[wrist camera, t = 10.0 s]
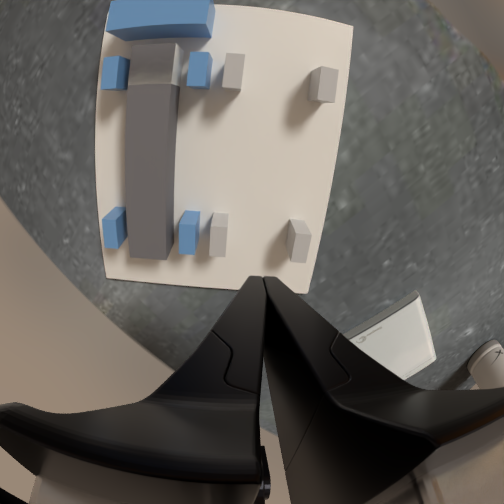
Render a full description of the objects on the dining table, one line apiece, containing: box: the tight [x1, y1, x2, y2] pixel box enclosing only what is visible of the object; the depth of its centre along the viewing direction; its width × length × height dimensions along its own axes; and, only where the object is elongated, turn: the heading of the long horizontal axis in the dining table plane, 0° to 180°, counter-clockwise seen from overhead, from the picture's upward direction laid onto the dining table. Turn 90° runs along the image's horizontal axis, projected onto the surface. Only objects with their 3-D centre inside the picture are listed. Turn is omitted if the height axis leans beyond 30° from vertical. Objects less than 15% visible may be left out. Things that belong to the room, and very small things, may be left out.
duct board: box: [95, 0, 353, 294], centre depth 16 cm, size 20×16×4 cm
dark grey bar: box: [125, 43, 184, 260], centre depth 16 cm, size 13×2×2 cm, turn 174°
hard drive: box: [343, 290, 436, 380], centre depth 27 cm, size 2×8×12 cm
